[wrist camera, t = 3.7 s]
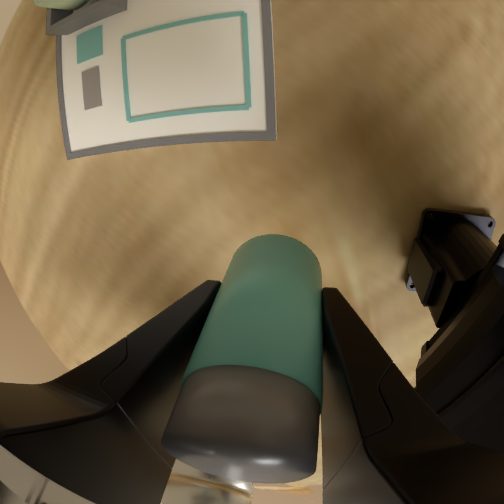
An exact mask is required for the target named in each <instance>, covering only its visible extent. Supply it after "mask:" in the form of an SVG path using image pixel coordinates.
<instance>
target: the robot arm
mask: <svg viewBox="0 0 504 504" xmlns="http://www.w3.org/2000/svg"><path fill="white" fill-rule="evenodd" d="M429 214H432V215H431V217H430V218H427V216H428V215H429ZM489 222H490V224H489V225H488V223H489ZM494 227H495V220H494V218H492V217H491V216H488V215H481V214H474V213H467V212H459V211H451V210H442V209H434V208H427V209H425V210H424V211H423V213H422V217H421V222H420V227H419V231H418V236H417V237H416V238H415V239H414V242H413V247H412V251H411V255H410V259H409V263H408V267H407V270H408V276H407V279H406V287H407V289H408V290H409V291H417V293H418V296H419V298H420V301H421V303H422V304H423V306H424V307H429V310H430V312H431V315H432V317H433V320H434V322H435V325H436V327H437V328H440V329H439V330H438V331H437V332H436V333H435V335H434V336H433V337H432V338H431V339H430V340H429V341H427V342H426V343H425V344H424V345H423V346H422V349H421V358H420V359H419V362H418V365H417V368H416V387H415V388H413V387H412V386H411V384H410V383H409V382H408V381H407V379H406V378H405V377H404V375H403V374H402V373H401V371H400V370H399V369H398V367H397V366H396V365H395V363H393V361H392V359H391V358H390V357H389V355H388V354H387V353H386V351H385V350H384V349H383V347H382V346H381V345H380V343H379V342H378V341H377V339H376V338H375V337H374V335H373V334H372V333H371V331H370V330H369V329H368V327H367V326H366V325H365V324H364V322H363V321H362V320H361V318H360V317H359V316H358V314H357V313H356V312H355V311H354V309H353V308H352V307H351V306H350V304H349V303H348V302H347V300H346V299H345V298H344V297H343V295H342V294H341V293H340V292H339V290H338V289H337V288H330V287H324V288H323V289H322V309H323V406H322V412H321V430H322V463H323V504H504V234H502V236H501V238H500V240H499V241H498V242H499V245H498V246H496V245H495V244H494V243H493V242H492V241H491V237H492V234H493V230H494ZM411 283H413V285H410V284H411ZM220 286H221V282H220V281H215V280H207V281H205V282H204V283H202V284H201V285H199V286H198V287H197V288H195V289H194V290H192V291H191V292H189V293H188V294H186V295H185V296H184V297H182V298H181V299H179V300H178V301H176V302H175V303H173V304H172V305H170V306H169V307H168V308H166V309H165V310H163V311H162V312H160V313H159V314H157V315H156V316H155V317H153V318H152V319H150V320H149V321H147V322H146V323H144V324H143V325H142V326H140V327H139V328H137V329H136V330H134V331H133V332H131V333H130V334H129V335H127V336H126V337H124V338H123V339H121V340H120V341H118V342H117V343H115V344H114V345H112V346H111V347H109V348H108V349H106V350H105V351H103V352H102V353H100V354H98V355H97V356H95V357H93V358H92V359H90V360H88V361H87V362H85V363H83V364H81V365H79V366H78V367H76V368H74V369H72V370H71V371H69V372H67V373H65V374H63V375H62V376H60V377H58V378H56V379H54V380H52V381H49V382H47V383H43V384H15V383H3V382H0V504H160V503H161V500H162V497H163V494H164V491H165V489H166V486H167V483H168V480H169V477H170V474H171V472H172V469H171V468H173V466H174V463H175V460H176V458H175V457H173V456H172V455H170V454H169V453H168V452H167V451H166V450H165V449H164V448H163V446H162V444H161V438H162V436H163V433H164V431H165V428H166V425H167V423H168V420H169V418H170V415H171V413H172V410H173V408H174V405H175V402H176V400H177V397H178V395H179V392H180V390H181V388H180V385H181V381H182V378H183V376H184V373H185V371H186V368H187V366H188V363H189V361H190V358H191V356H192V353H193V351H194V349H195V346H196V344H197V341H198V339H199V336H200V334H201V332H202V329H203V327H204V324H205V322H206V320H207V317H208V315H209V312H210V310H211V308H212V305H213V303H214V300H215V298H216V296H217V293H218V291H219V288H220Z"/></svg>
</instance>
